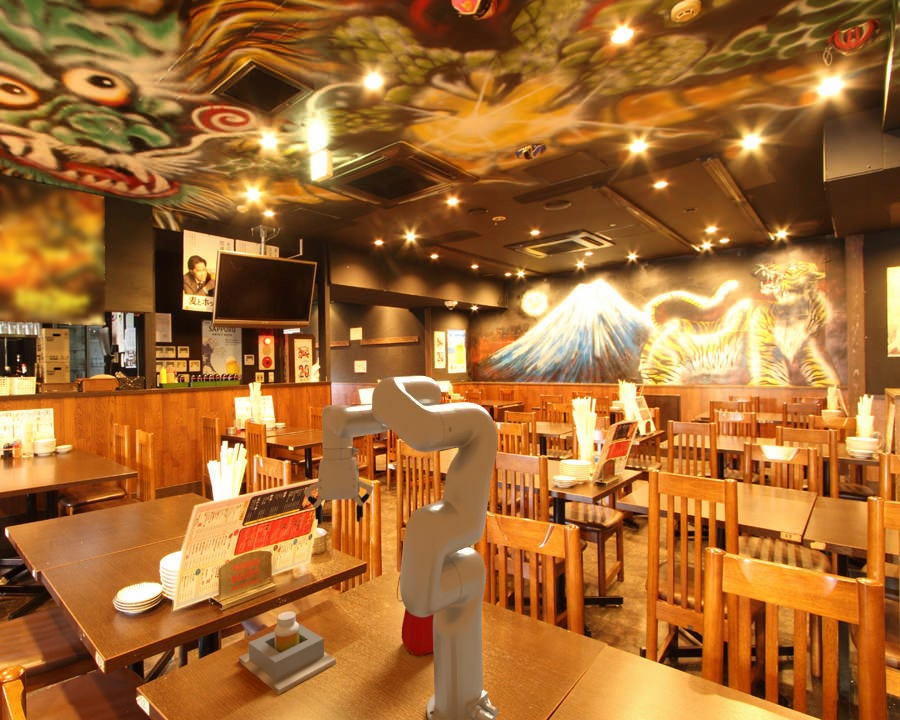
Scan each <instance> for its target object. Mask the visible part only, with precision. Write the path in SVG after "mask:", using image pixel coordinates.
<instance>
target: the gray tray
mask: <svg viewBox="0 0 900 720" xmlns="http://www.w3.org/2000/svg"><path fill="white" fill-rule="evenodd" d="M336 660H337V659H336V658H335V657H333V656H332V655H331V654H328V652H325V651H324V656H323V657H321V658H320V659H318V660H316V661H314V662H312V663H310V664H308V665H306V666H304V667H303V668H301V669H299V670H297V671H295V672H293V673H291V674H289V675H287V676H285V677H284V678H282V679H280V680H278V681H275V680H274V679H272V678H271V677H270V676H269V675H267V674H266V673H265V672H263V671H262V670H261V669H260V668H258V667H257V666H256V665H255V664H253V663H252V662H251V661H250V660H249V652H247V653H244V654H242V655H239V656H238V662H239V663H240V664H241V665H242V666H244V667H245V668H246V669H247V670H249V671H250V672H251V673H252V674H253V675H255V676H256V677H257V678H258V679H260V680H261V681H262V682H263V683H264V684H266V685H267V686H268V687H269V686H270V687H269V688H270V689H271V690H273V691H274V692H275V693H276V694H278V695H280V694H282V693H284V691H285V692H286V691H288V690H290V689H292V688H294V687H295V686H297V685H299V684H301V683H302V682H304V681H306V680H308V679H310V678H311V677H314V676H316V675H318V674H319V673H321V672H323V671H324V670H327V669H328V668H330V667H332V666H334V665H335V664H336V663H337V661H336Z"/></svg>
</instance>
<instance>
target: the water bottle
mask: <svg viewBox="0 0 900 720" xmlns="http://www.w3.org/2000/svg"><path fill="white" fill-rule="evenodd" d="M399 587H400V575H399V577H398V581H397V588H396V598H397V600H398V602H400V603H401V602H403V601H402V599H401V600H399V594H398V592H399ZM433 618H434V614H433V615H431V616H427V617H417V616H414V615H412V614H411V613H410V612H409V611H408V610H407V609H406V608H404V614H403V619H402V624H401V640H402V644H403V646H404V647H405V648H406V650H407V652H409V653H410V654H411V655H412V656H413V655H415V656H420V657H421V656H424V655H427V654H428V655H429V654H430V653H433Z"/></svg>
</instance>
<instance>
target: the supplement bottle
mask: <svg viewBox="0 0 900 720" xmlns="http://www.w3.org/2000/svg"><path fill="white" fill-rule="evenodd" d="M296 616H297V615H296V613H295V612H294V611H284V612H282V613H280V614H278V615H277V618H276V619H277V625H276V626H275V627H274V635H275V650H277V651H278V652H280V653H281V652H283V651H286V650H288V649H290V648H292V647H294V646H296V645H298V644H299V624H300V623H299V622H297V620H296V618H297V617H296ZM298 623H299V624H298Z"/></svg>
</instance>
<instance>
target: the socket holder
mask: <svg viewBox="0 0 900 720" xmlns="http://www.w3.org/2000/svg"><path fill="white" fill-rule="evenodd" d="M297 623H298V624H299V644H298V645H296V646H294V647H292V648H290V649H288V650H286V651H283V652H281V653H280V652H278V651H277V650H275V635H274V631H275V630H274V631H271V632H269V633H267V634H265V635H262V636H260V637H258V638H256V639H254V640H250V641H249V642H248V653H249V660H250V661H251V662H252V663H253V664H255V665H256V666H257V667H258V668H260V669H261V670H262V671H263V672H265V673H266V674H267V675H269V676H270V677H271V678H272V679H274V680H275V681H278V680H280V679H282V678H284V677H285V676H287V675H289V674H291V673H293V672H295V671H297V670H299V669H301V668H303V667H304V666H306V665H308V664H310V663H312V662H314V661H316V660H318V659H320V658H321V657H323V656H324V652H325V638H324V637H322V636H320V635H319V634H317V633H315V632H313V631H312V630H310V629H309V628H307V627H305V626H304V625H303V624H300V623H299V622H297Z"/></svg>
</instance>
